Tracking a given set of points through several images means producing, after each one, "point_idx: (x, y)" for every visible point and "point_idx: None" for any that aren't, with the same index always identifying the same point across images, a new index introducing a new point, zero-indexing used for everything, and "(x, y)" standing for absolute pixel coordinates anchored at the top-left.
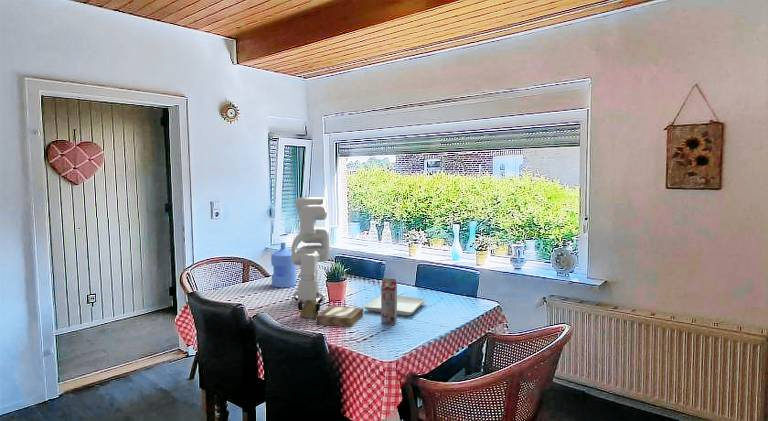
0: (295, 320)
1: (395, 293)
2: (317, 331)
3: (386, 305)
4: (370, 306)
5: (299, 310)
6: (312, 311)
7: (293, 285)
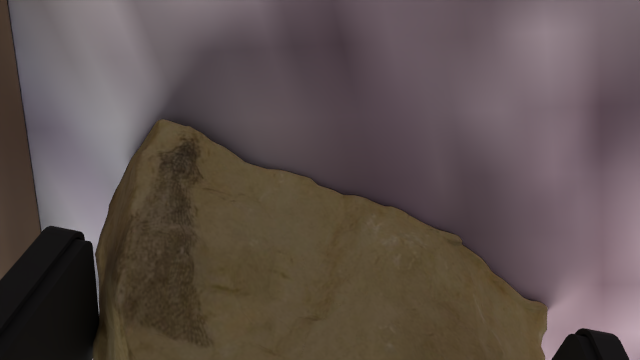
0: (630, 5)
1: None
2: None
3: None
4: None
5: (587, 330)
6: (214, 284)
7: None
